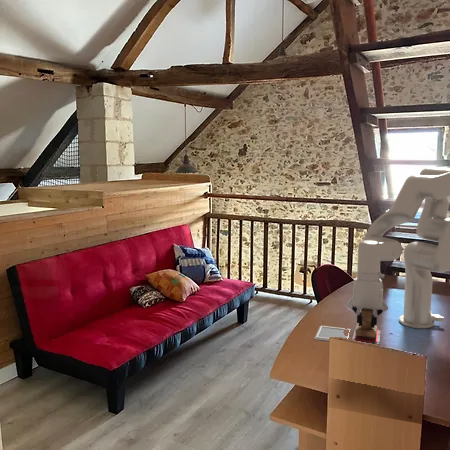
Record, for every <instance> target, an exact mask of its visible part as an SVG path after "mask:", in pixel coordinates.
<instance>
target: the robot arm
mask: <svg viewBox="0 0 450 450" xmlns="http://www.w3.org/2000/svg"><path fill="white" fill-rule="evenodd" d="M448 197H450V167H439V166H438V167H427V168H423V169H422V170H421V171H420V173H419V174H415V175H410V176H409V177H406V179H405V181H404V182H403V185H402V187H401V188H400V190H399V193H398V195H397V197H396V199H395V200H394V203H393V204H392V206H391V208H390V209H389V210H387V211H386V212H384V213H383V214H381V215H380V216H379V217H377V218H376V219H375V220H374V221H373V222H372V223H371V224H370V225H369V228H368V229H367V231H366V233H365V235H364V237H363V240H361V241H359V243H358V245H357V269H356V270H357V272H356V273H357V274H356V277H355V279H354V282H353V289H352V297H351V298H350V299H349V301H348V302H347V304H346V306H347V307H348V308H350V309H352V311H353V312H354V313H355V314H356V323H357V324H359V326H361V309H362V308H371V309H373V318H372V327H373V328H374V326H378V325H377V324H378V323H377V322H378V316H380V315H381V314H383V313H384V312H386V311H388V310H389V307H388V305H387V303H386V301H385V300H384V285H383V280H382V279H384V278H385V274H384V273H382V272H381V262H385V261H386V262H388V261H390V262H392V261H395V260H398V259H399V258H400V257H401V256H402V254H403V261H404V269H405V272H404V273H405V276H404V277H405V280H404V281H405V282H404V297H403V298H404V299H403V300H404V301H403V314H402V315H400V316H399V317H398V322H399V323H401V324H402V325H404V326H406V327H409V328H413V329H429V328H433V327H434V326H435V322H440V323H444V322H445V321H444V320H445V318H444V316H441V315H440V314H434V313H432V309H431V308H432V296H433V294H432V293H433V276H432V273H431V272H435V273H441V274H443V273H446V272H448V271H449V270H450V217H447V215H448V211H449V208H450V202H449V199H448ZM423 202H424V205H423V207H422V210H421V213H420V217H419V219H418V223H417V226H416V230H415V232H416V235H417V236H418V238H420V239H423V240H426V241H431V242H434V243H437V244H438V245H437V244H434V243H433V244H432V243H428V242H422V241H413V242H410V243H408V244H406V245H405V247H404V250H403V246H402V245H403V244H401V242H400V241H398V240H395V239H391V238H387V237H385V236H384V235H385V233H386V232H387V231H388V230H390V229H392V228H394V227H397V226H399V225H403V224H407V223H410V222H412V221H413V220H414V219H415V217H416V215H417V213H418V211H419V210H420V207H421V206H422V204H423Z"/></svg>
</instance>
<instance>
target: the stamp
mask: <svg viewBox="0 0 450 450" xmlns="http://www.w3.org/2000/svg"><path fill="white" fill-rule="evenodd" d="M360 312H361V326H359V323H357V324H356V326H355V328H356V331H355V335H357V337H362V338H370V339H375V338H376V336H377V330H378V325H375V326H374V328H373V327H372V318H373V314H374V312H373V309H371V308H361V310H360Z"/></svg>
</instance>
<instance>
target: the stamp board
mask: <svg viewBox="0 0 450 450" xmlns="http://www.w3.org/2000/svg"><path fill="white" fill-rule="evenodd" d="M351 329H352V328H347V329H345V327H337V326H327V325H319V327H318V329H317V331H316V334H315V336H314V340H316V341H323V342H330V341H329V338H330V337H343V338H347V339H348V338H349V333H348V336H345V335H344V333H343V332H344V330H349V332H350V330H351Z"/></svg>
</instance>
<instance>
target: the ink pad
mask: <svg viewBox="0 0 450 450" xmlns="http://www.w3.org/2000/svg"><path fill="white" fill-rule="evenodd" d="M355 331H356V327H355V328H354V332H353V334H352V337H351V339H352V340H356V341H361V342H366V343H372V344H378V345H379V346H380V343H379V342H381V341H380V340H381V335H380V334H381V330H380V329H377V336H376V338H375V339H370V338H362V337H357V335H355ZM352 340H351V341H352Z"/></svg>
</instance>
